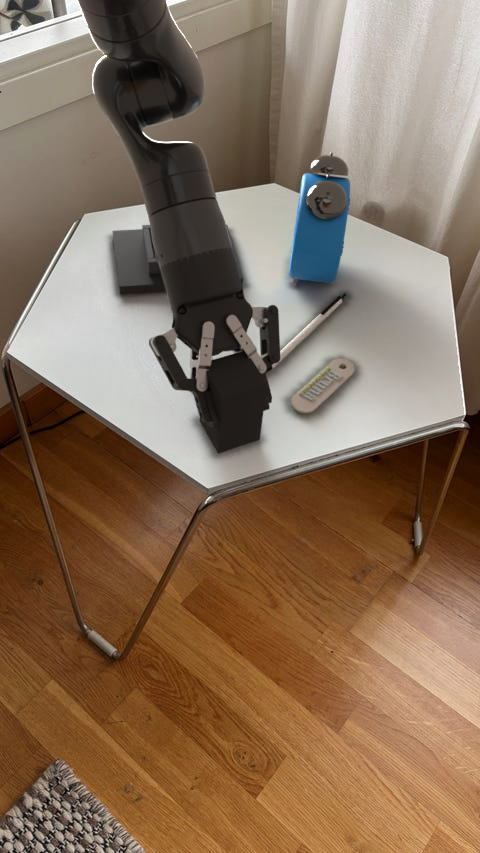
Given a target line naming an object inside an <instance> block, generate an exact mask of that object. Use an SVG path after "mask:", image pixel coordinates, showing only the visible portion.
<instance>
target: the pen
mask: <svg viewBox="0 0 480 853" xmlns="http://www.w3.org/2000/svg"><path fill="white" fill-rule="evenodd" d="M345 297H347V293H343V294H342V295H338V296H337V297H336V298H335V299H333V301H332V302H330V304H328V305H327V306H326V307H325V308H324V309H323V310H322V311H321V312H320V313H319V314H318V315H317V316H316V317H315V318H314V319H313V320H312V321H311V322H310V323H309V324H308V325H306V326H305V327H304V328H303V329H302V330H301V331H300V332H299V333H298V334H297V335H296V336H294V338H293V339H292V340H290V341H289V342H288V343H287V344H286V346H284V347H283V348H282V349H280V361H279V362H278V363H274V364H273V365H272V366H270V367H269V368H268V369H267V372H266V374H268V372H270V371H272V370H273V369H274V368H275V367H277V366H278V365H279V364H280V363H281V362H282V361H283V360H284V359H285V358H286V357H287V356H288V355H289V354H290V353H291V352H293V351H294V350H295V348H297V346H298V345H299V344H300V343H302V341H304V340H305V338H307V337H308V336H309V335H310V334H311V333H312V332H313V331H314V330H315V329H316V328H317V327H318V326H319V325H320V324H321V323H322V322H324V320H326V318H327V317H329V316H330V315H331V314H332V313H333V312H334V311H335V310H336V309H337V308H338V307H339V306H340V305H341V304H342V303H343V302H344V299H345Z"/></svg>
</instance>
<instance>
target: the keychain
mask: <svg viewBox="0 0 480 853" xmlns="http://www.w3.org/2000/svg"><path fill="white" fill-rule="evenodd" d="M341 367H344V369H343V368H341ZM354 373H355V365H354V364H353V362H352V361H350V360H349V359H346V358H341V357H340V358H339V357H338V358H334V359H333V360H331V361H330V362H329V363H328V364H327V365H325V367H323V368H322V369H321V370H320V371H319V372H318V373H317V374H316V375H314V376H313V377H312V378H311V379H310V380H309V381H308V382H307V383H305V384H304V385H303V386H302V387H301V388H300V389H299V390H298V391H297V392H296V393H295V394H293V395H292V397H291V401H290V403H291V406H292V409H293V410H295V411H296V412H298V413H301V414H310V413H314V411H316V410H317V409H318V408H319V407H320V406H321V405H322V404H323V403H324V402H326V401H327V400H328V399H329V398H330V397H331V396H332V395H333V394H334V393H335V392H336V391H337V390H338V389H339V388H340V387H342V385H343V384H345V383H346V382H347V381H348V380H349V379H350V378H351V377H352V376H353V374H354Z"/></svg>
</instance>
